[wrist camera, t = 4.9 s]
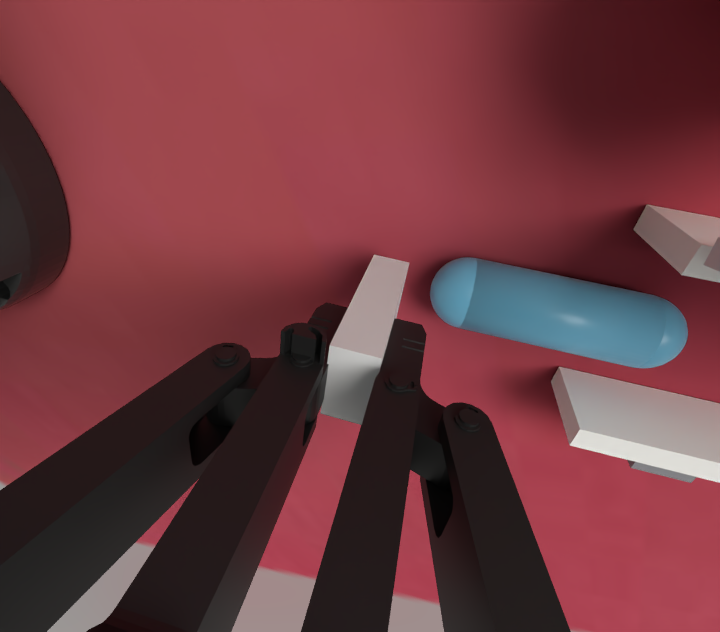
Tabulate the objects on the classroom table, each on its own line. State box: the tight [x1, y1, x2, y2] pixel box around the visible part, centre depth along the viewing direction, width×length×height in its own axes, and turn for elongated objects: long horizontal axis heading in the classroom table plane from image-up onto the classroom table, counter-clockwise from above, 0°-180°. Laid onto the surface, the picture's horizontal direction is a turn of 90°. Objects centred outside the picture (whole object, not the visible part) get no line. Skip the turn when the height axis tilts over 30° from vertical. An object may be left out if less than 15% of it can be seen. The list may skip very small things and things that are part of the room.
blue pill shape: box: [430, 257, 688, 368], centre depth 16 cm, size 10×3×3 cm, turn 83°
